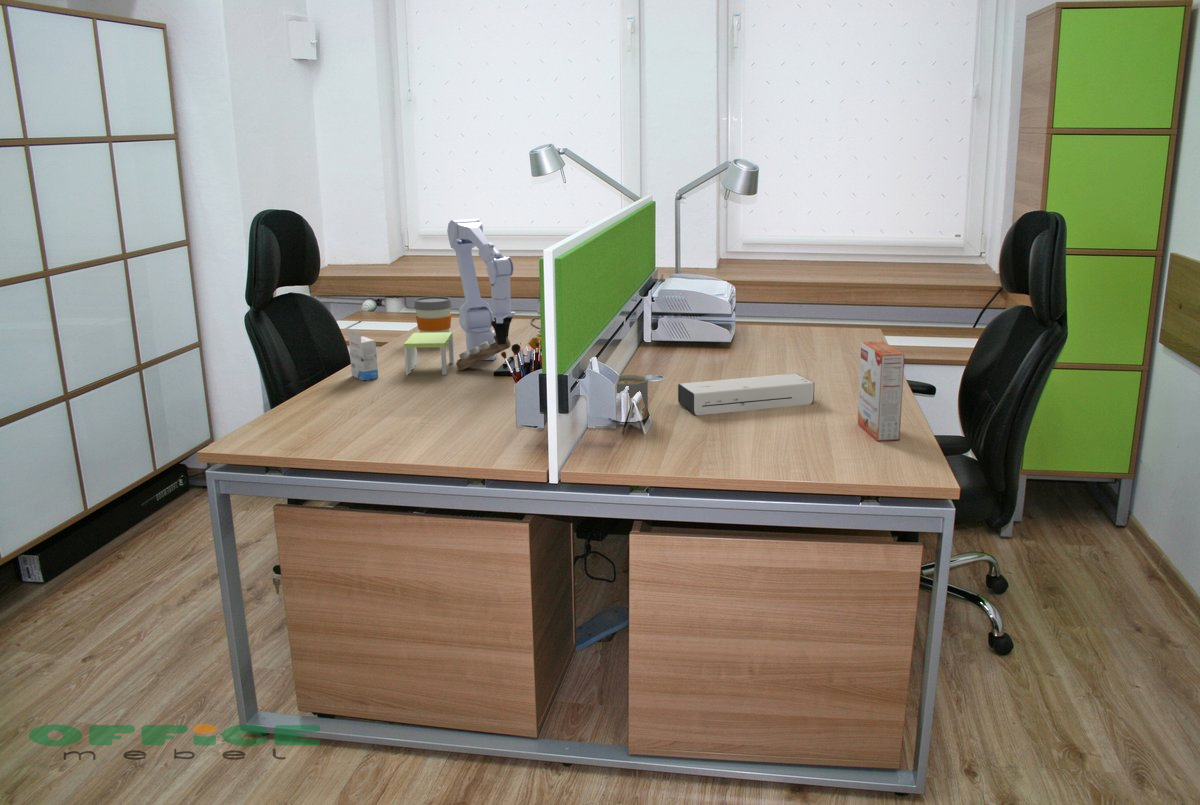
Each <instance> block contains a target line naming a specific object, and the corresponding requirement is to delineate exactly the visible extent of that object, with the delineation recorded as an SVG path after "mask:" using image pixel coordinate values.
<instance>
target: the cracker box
mask: <svg viewBox="0 0 1200 805" xmlns="http://www.w3.org/2000/svg"><path fill="white" fill-rule="evenodd" d="M860 344H861V345H860V363H859V364H860V367H859V385H858V387H859V388H858V406H857V407H858V408H857V424H858V425H859V426H860V427H861V428H862V429H863V430H864V431H866V433H868V435H870V436H871V437H872V438H873V439H874V440H876V442H885V441H886V442H887V441H900V439H901V425H902V410H903V409H902V407H903V394H904V391H903V388H904V377H905V360H906V354H905V353H902V352H901V351H900V350H898V349H896V348H895V347H893V346H892V345H890V344H889V343H887V342H885V341H862V342H860Z"/></svg>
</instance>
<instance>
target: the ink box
mask: <svg viewBox="0 0 1200 805" xmlns="http://www.w3.org/2000/svg"><path fill="white" fill-rule="evenodd" d="M353 334H354V335H353ZM376 341H377V340H375V339H372V338H370V337H369V338H368V337H367V336H362V333H361V331H357V330H355V329H351V328H348V344H349V354H350V366H351V367H350V368H351V369H350V370H351V377H353V376H354V377H353V378H355V377H356V379H358V378H359V379H358V380H360V379H361V380H360V381H363V380H367V381H370V380H369V379H373V380H376V379H375V378H378V379H379V371H378V370H379V369H378V360H377V359H378V356H377V345H376V344H377V343H376Z"/></svg>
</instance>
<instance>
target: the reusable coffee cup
mask: <svg viewBox="0 0 1200 805" xmlns="http://www.w3.org/2000/svg"><path fill="white" fill-rule="evenodd" d="M451 308H452V301H451V297H448V296H443V295H442V296H438V295H437V296H436V295H434V296H433V295H431V296H423V297H418V298H415V299H414V309H415V313H416V316H415V319H416V324H417V329H418V330H419V333H438V332H450V328H451V325H452V324H451V323H452V314H451Z"/></svg>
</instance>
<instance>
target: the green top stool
mask: <svg viewBox="0 0 1200 805" xmlns="http://www.w3.org/2000/svg"><path fill="white" fill-rule="evenodd" d="M453 338H454V335H453V332H452V331H449V332H438V333H420V332H413V333H412V334H411V335H410V336H409V337H408V339H407V340H406V341H405V342H404V343H403V350H404V364H405V365H404V366H405V375H406V376H409V375H410V374H411V372H412V371H413V370H412V369H414V368H415V367H416V366H415V365H417V364H418V350H417V348H440V356H441V358H440V359H441V361H440V362H441V374H442V376H444V375H445V376H446V375H447V374H448V370H447V352H446V351H447V350H446V349H447V348H446V346H447V345H448V358H449V360H448V361H449V364H454V363H455V356H454V341H453ZM411 370H412V371H411ZM408 374H409V375H408Z"/></svg>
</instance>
